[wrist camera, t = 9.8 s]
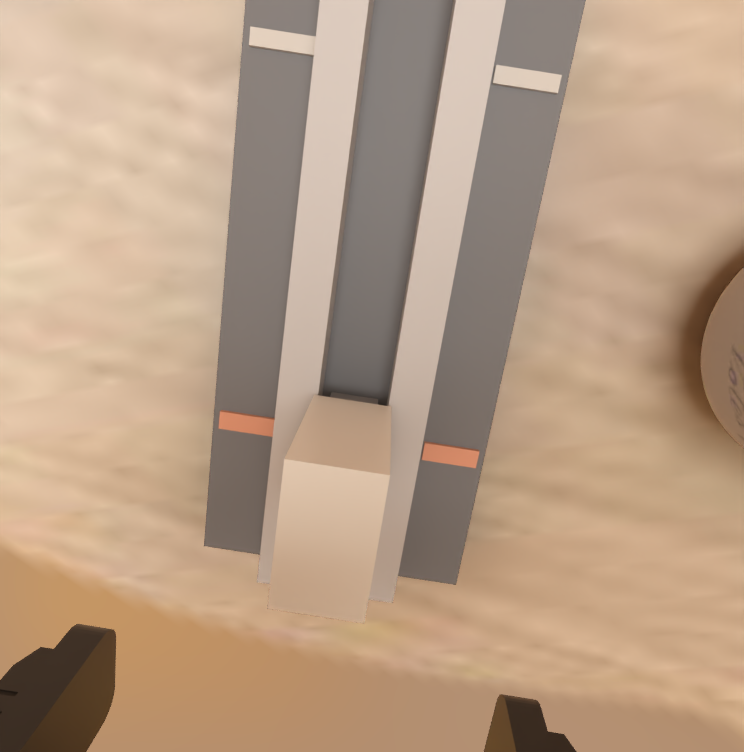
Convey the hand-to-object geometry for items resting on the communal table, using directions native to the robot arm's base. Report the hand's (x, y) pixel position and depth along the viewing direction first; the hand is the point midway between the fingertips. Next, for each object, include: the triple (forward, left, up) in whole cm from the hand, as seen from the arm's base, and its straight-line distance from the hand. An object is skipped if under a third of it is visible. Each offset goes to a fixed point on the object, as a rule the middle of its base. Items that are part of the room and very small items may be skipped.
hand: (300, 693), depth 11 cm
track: (0, -7, -16) cm, 17 cm away
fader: (0, 0, -13) cm, 13 cm away
